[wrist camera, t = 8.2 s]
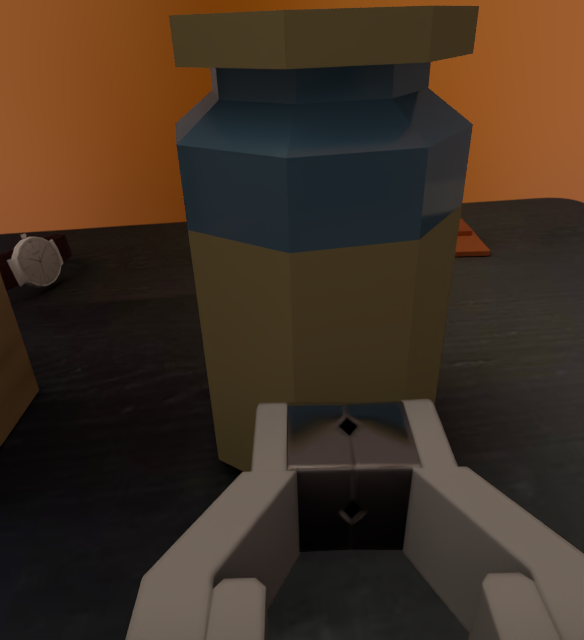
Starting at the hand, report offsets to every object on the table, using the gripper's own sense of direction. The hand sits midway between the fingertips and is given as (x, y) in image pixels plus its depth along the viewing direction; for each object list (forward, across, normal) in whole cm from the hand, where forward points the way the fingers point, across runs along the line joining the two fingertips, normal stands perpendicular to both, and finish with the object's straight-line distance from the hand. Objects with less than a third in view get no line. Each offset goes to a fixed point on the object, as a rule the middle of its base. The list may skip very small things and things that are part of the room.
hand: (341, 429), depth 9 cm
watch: (+25, +19, +9) cm, 32 cm away
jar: (+10, 0, +9) cm, 13 cm away
